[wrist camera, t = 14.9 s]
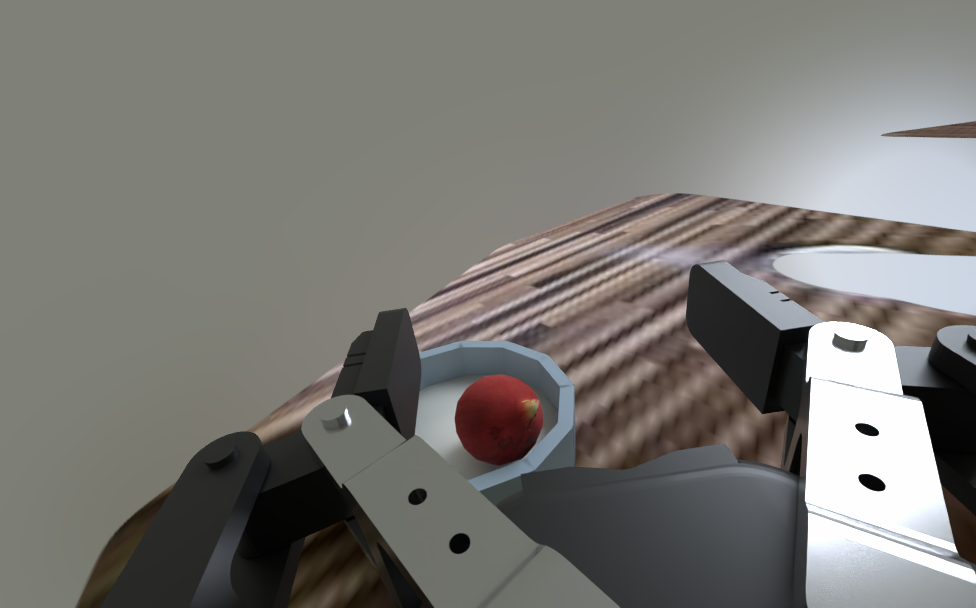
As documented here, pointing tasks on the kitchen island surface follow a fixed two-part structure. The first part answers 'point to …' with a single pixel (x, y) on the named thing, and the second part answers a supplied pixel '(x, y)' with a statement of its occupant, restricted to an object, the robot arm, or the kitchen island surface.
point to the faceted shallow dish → (463, 366)
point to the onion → (498, 419)
